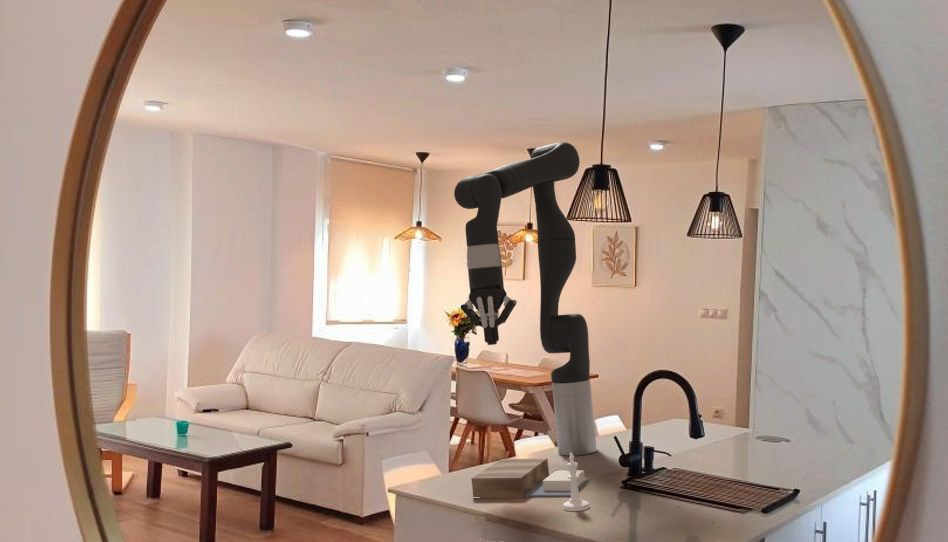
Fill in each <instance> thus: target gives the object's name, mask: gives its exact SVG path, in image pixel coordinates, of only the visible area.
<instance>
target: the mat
mask: <svg viewBox="0 0 948 542" xmlns="http://www.w3.org/2000/svg"><path fill="white" fill-rule="evenodd" d="M584 478H585V480H584V481H583V482H582V483H581V484H580V485H579V486H578V491H579V490H580V489H581V488H582V487H583V486H584V485H586V483H587V482H589V481H590V477H584ZM545 479H546V478H545ZM548 497H549V498H550V497H551V498H554V497H556V498H560V497H561V498H563V497H564V498H567V497H568V498H569V497H570V498H571V491H544V489H543V480H542V481H541V482H540V483H539V484H538V485H536V486H535V487H534V488H533V489H531V490H530V491H529V492H528V493H526V494H525V497H524V498H548Z"/></svg>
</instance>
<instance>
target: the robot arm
mask: <svg viewBox="0 0 948 542" xmlns="http://www.w3.org/2000/svg"><path fill="white" fill-rule="evenodd" d="M579 169H580V156H579V153H578V151H577V149H576V147H575V146H574V145H573V144H571V143H569V142H565V141H559V142H555V143H551V144H546V145H542V146H540V147H537V148H535V149H533V150H532V152H531V154H530V158H528V159H527V158H526V159H524V160H523V159H522V160H519V161H514V162H511V163H508V164H505V165H502V166H499V167H496V168H494V169H492V170H490V171H487V172H483V173H480V174H479V173H478V174H474V175H471V176H467V177H464V178H462V179H460V180H459V181H458V183H457V184H456V185H455V187H454V192H453V193H454V194H453V197H454V200H455V202H456V203H457V204H458V205H459V206H460V207H461V208H464V209H466V210H473V209H477V212H476V216H475V217H473V218H471V219H470V220H468V221H467V222H466V223H465V229H464V230H465V238H466V267H467V273H468V282H469V294H468V299H467V301H466V302H465V303H464V304H461V305H460V309H461V310H462V312H463V313H464V314H465V316H467V318H468V319H469V320H470V321H471V322H472V324H474V326H475V327H482V328H483V335H484V342H485V343H487V346H493V345H494V346H495V345H497V344H498V342H499V341H500V338H499V337H500V336H499V326H500V325H502V324H505V323H506V322H507V320H508V318H509V316H510V315H511V313H512V311H513V310H514V308H515V306H516V305H517V303H518V302H517V300H516V299H513V298H511V297H509V296H508V295H507V291H506V290H505V288H504V287H505V286H504V285H505V284H504V275H503V266H502V265H503V264H502V254H501V249H500V245H499V244H500V243H499V233H498V222H499V217H500V216H499V215H500V209H501V202H502V199H506V198H508V197H511V196H514V195H516V194H519V193H521V192H524V191H525V190H528V189H530V188H532V192H533V198H534V204H535V213H536V214H535V215H536V217H535V218H536V231H537V253H538V255H537V257H538V267H539V280H540V283H539V284H540V308H539V309H540V311H539V312H540V313H539V335H540V342H541V346H542V349H543V350H544V351H545V352H546V353H547V354H562V353H563V354H566V353H569V360H568V361H567V362H566V363H564V364H562V365H561V366H559V367H556V368H554V369H553V370H552V371H550V377H551V379H550V380H551V387H552V396H553V407H554V408H553V409H554V417H555V418H554V419H555V430H556V441H557V450H558V454H559V455H562V456H570V453H573V456H581V455H582V456H583V455H588V454H589V455H590V454H592V453H596V452H597V441H596V438H597V437H596V429H595V428H596V427H595V419H594V418H595V417H594V408H593V407H594V406H593V405H594V404H593V396H592V389H591V388H592V387H591V386H592V385H591V379H590V378H591V377H590V376H591V375H590V369H591V368H590V367H591V365H590V363H591V361H590V348H589V347H590V346H589V345H590V344H589V330H588V329H589V328H588V325H587V321H586V318H585V317H584V316H583V315H582V314H580V313H567V314H559V304H560V298H561V294H562V292H563V289H564V287H565V285H566V283H567V281H568V279H569V277H570V276H571V274H572V272H573V270H574V268H575V265H576V262H577V249H576V248H577V247H576V235H575V231H574V229H573V226H572V225H571V223H570V221H569V220H568V218H567V217H566V216H565V214H564V212H562V210H561V208H560V205H558V201H557V199H556V192H555V191H556V189H555V183H556V182H559V181H560V182H561V181H563V180H568V179H570V178H573V176H575V175H576V174H577V173H578V170H579ZM502 306H503V307H504V308H503V309H502V311H501V313H500V312H499V311H500V308H501V307H502ZM474 307H475V309H476V310H477V311H478V313H479V314H478V313H477V312H476V311H475V309H474Z"/></svg>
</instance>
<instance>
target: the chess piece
mask: <svg viewBox="0 0 948 542" xmlns="http://www.w3.org/2000/svg"><path fill="white" fill-rule="evenodd" d="M574 458H575V455H573V453H570V455H569V457H568V460H569V462H567V463H566V467H567V469H568V471H569V472H570V475H569V476H568V479H571V497H570V498H569V500H568V501H565V502H564V503H563V504H562V510H564V511H567V512H582V511H585V510H588V509H589V508H591V507H590V503H589V501H587V500H584V499H583V498H582V497H581V496H580V491H579V490H578V486H577V481H576V479H577V478H579V475H576V470H577V468H578V464H579V463H578V462H576V461H574Z"/></svg>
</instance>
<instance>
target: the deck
mask: <svg viewBox="0 0 948 542" xmlns="http://www.w3.org/2000/svg"><path fill="white" fill-rule="evenodd" d="M548 476H550V471H549V461H548V458H547V457H545V458H501V459H499V460H498V461H496V462H495V463H493V464H492V465H490V466H489V467H487V468H485V469H484V470H482V471H481V472H479V473H478V474H476V475H475V476H473V477H472V478H471V489H472V498H473V497H480V498H479V499H524V498H526V497H525V494H526V493H528V492H529V491H530V490H531V489H533V488H534V487H535V486H536V485H538V484H539V483H540V482H541V481H542V480H544V479H545V478H547V477H548Z"/></svg>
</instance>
